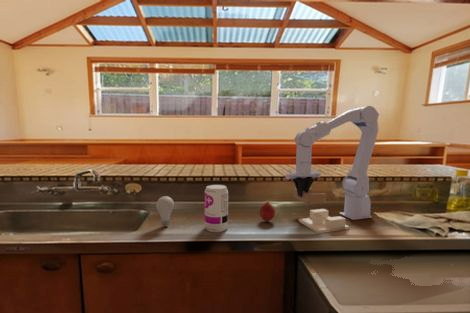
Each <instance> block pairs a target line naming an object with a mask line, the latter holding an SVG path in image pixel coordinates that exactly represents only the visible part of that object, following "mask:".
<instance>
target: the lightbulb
mask: <svg viewBox="0 0 470 313" xmlns="http://www.w3.org/2000/svg"><path fill="white" fill-rule="evenodd" d="M155 206H156V209H157V212H158V213H159V216H160V220H161V225H162V226H163V227H168V226H169V225H170V220H171V214H172V212H173V209H174V206H175V202H174V199H173V198H172V197H170V196H167V195H166V196H165V195H163V196H161V197H160V198H158V199H157V201H156V204H155Z"/></svg>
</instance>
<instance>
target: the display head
mask: <svg viewBox="0 0 470 313" xmlns="http://www.w3.org/2000/svg"><path fill="white" fill-rule="evenodd" d="M346 220H347V219H346V218H345V217H343V216H342V215H341V216H340V215H339V216H330V215H329V209H326V208H316V209H310V210H309V217H303V218H298V222H299V223H301V224H303V225H304V226H306V227H307V228H308V229H310V230H312V231H314V232H315V233H316V234H322V233H323V234H324V233H331V232H332V233H333V232H337V231H346V230H350V226H349V225H347V224H346Z"/></svg>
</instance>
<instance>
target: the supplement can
mask: <svg viewBox="0 0 470 313" xmlns="http://www.w3.org/2000/svg"><path fill="white" fill-rule="evenodd" d="M228 227H229V190H228V188H227V186H226V185H225V184H210V185H209V184H208V185H207V186H206V187H205V189H204V229H206V231H208V232H210V233H222V232H225V231H226V230H227V229H228Z"/></svg>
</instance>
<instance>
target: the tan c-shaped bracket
mask: <svg viewBox="0 0 470 313" xmlns="http://www.w3.org/2000/svg"><path fill="white" fill-rule="evenodd" d="M293 198H295V199H297V200H299V201H301V202H303V203H305V204H308V205H309V204H324V203H325V204H326V203H327V193H325V192H322V193H313V187H310V188H309V191H308V193H307V192H305V191H303V195H302V197H300V196H298V193H297V189H296V188H293Z"/></svg>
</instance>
